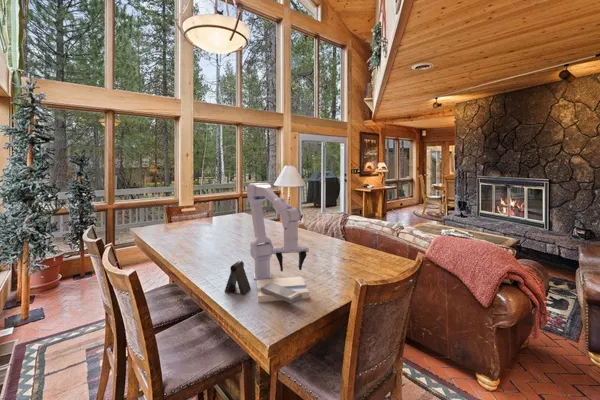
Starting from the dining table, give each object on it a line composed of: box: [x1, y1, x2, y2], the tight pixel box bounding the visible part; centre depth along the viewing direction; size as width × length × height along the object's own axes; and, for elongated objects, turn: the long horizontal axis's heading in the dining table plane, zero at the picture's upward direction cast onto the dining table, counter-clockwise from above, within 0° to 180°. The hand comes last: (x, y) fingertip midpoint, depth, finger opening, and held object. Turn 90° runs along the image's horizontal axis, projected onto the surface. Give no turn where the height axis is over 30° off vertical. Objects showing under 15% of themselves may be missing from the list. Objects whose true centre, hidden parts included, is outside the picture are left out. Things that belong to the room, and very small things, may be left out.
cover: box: [261, 283, 302, 304], centre depth 111 cm, size 6×17×2 cm, turn 50°
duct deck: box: [256, 276, 310, 303], centre depth 120 cm, size 16×20×2 cm
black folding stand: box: [224, 260, 252, 296], centre depth 120 cm, size 9×6×12 cm, turn 73°
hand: (290, 269), depth 119 cm, fingers open, 7 cm apart
